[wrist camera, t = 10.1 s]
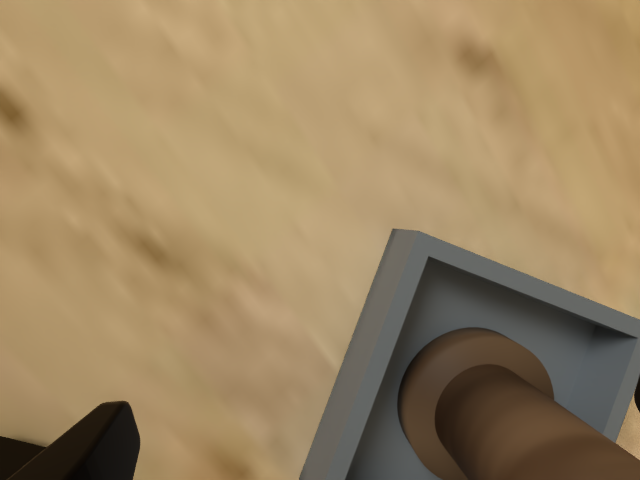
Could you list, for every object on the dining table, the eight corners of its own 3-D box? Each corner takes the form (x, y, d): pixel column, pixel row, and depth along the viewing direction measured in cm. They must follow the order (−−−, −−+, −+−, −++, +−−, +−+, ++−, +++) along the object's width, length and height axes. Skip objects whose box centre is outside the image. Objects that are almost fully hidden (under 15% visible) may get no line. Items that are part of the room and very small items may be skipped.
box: (521, 537, 23) (562, 584, 20) (299, 478, 21) (308, 522, 18) (604, 312, 23) (657, 327, 20) (392, 228, 21) (418, 230, 18)
